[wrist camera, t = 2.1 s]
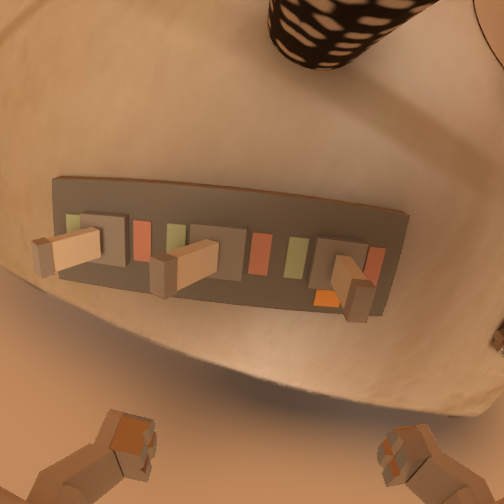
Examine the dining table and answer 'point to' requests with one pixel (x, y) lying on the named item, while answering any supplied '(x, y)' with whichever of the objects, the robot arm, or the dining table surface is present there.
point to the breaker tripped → (352, 289)
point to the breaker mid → (182, 267)
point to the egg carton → (499, 341)
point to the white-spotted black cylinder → (335, 27)
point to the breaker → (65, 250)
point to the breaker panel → (230, 239)
